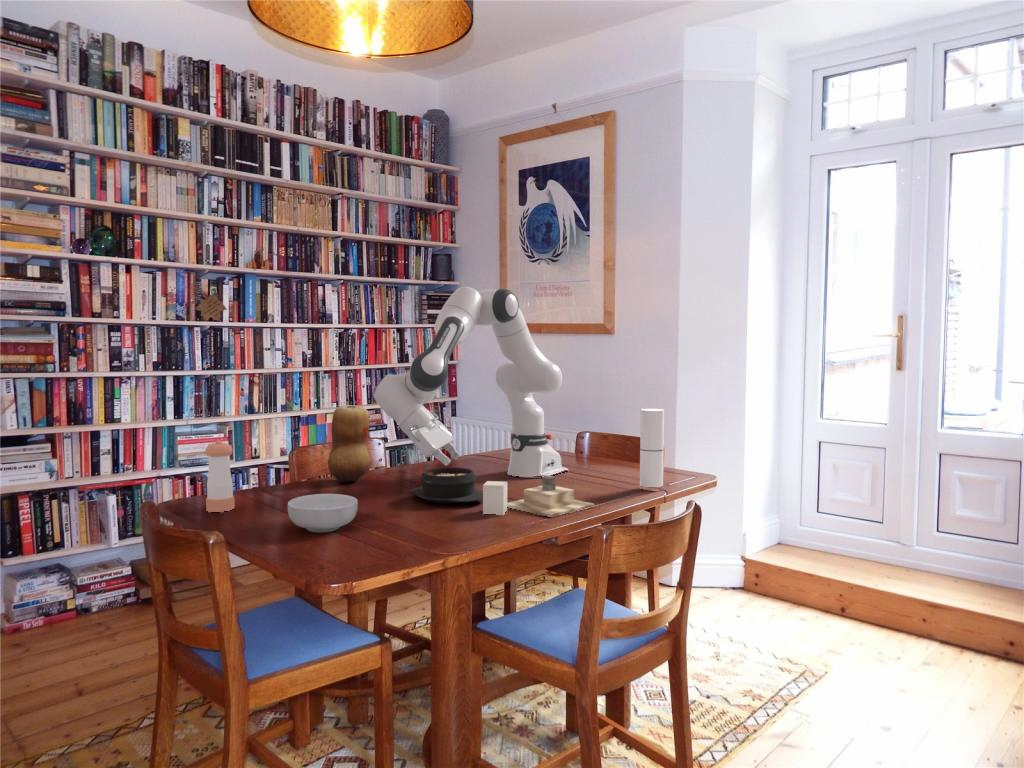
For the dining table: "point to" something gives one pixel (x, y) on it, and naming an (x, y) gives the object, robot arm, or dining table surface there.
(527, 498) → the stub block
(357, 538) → the dining table surface
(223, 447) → the salt shaker
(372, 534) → the dining table surface
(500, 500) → the upright ivory block
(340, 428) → the butternut squash
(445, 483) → the casserole
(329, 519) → the cereal bowl
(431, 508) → the dining table surface
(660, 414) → the cylindrical container
